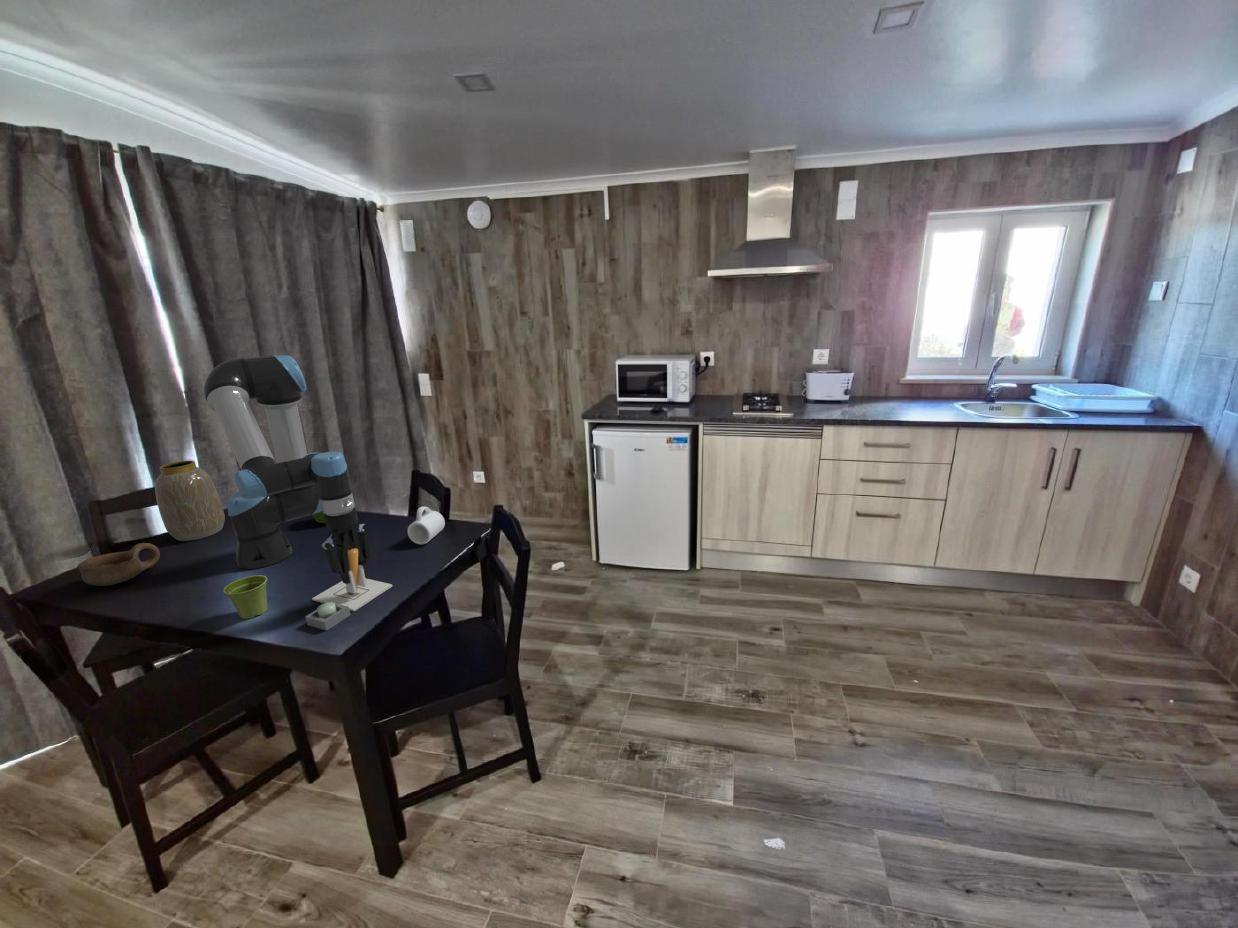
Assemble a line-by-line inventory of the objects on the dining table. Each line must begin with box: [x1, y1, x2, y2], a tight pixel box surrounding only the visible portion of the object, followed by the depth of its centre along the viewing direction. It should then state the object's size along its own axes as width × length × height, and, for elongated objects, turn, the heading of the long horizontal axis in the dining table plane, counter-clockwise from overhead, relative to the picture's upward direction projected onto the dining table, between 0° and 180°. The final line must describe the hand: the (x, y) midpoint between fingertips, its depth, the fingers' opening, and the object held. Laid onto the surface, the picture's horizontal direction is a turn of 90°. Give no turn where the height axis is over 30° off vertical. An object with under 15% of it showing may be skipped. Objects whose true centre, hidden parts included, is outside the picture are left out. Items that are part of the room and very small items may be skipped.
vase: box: [154, 460, 226, 542], centre depth 181 cm, size 17×17×27 cm
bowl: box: [76, 542, 161, 587], centre depth 154 cm, size 18×14×10 cm
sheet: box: [311, 578, 393, 612], centre depth 141 cm, size 16×13×1 cm
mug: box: [407, 506, 446, 546], centre depth 171 cm, size 8×10×12 cm
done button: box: [316, 602, 337, 619], centre depth 128 cm, size 4×4×3 cm
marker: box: [346, 547, 358, 594], centre depth 137 cm, size 3×3×14 cm
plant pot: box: [222, 574, 268, 620], centre depth 132 cm, size 9×9×9 cm
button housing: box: [305, 603, 352, 631], centre depth 128 cm, size 7×7×2 cm
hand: (357, 588), depth 138 cm, fingers closed on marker, 3 cm apart
